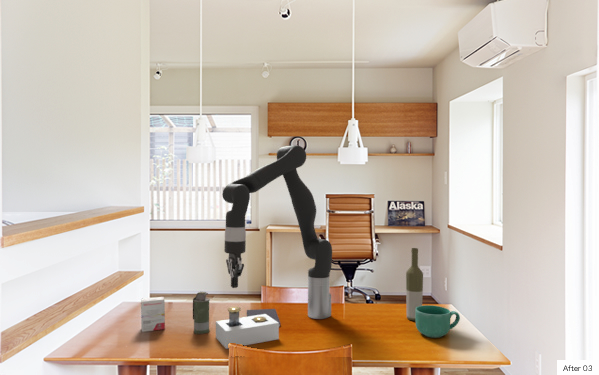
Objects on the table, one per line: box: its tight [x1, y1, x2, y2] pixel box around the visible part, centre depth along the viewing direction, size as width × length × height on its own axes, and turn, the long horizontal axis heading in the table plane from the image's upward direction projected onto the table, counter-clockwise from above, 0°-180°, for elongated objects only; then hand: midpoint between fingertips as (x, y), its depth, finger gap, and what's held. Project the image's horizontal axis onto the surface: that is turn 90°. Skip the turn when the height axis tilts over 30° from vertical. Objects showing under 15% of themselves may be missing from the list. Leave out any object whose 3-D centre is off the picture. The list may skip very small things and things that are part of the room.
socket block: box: [215, 314, 280, 349], centre depth 156 cm, size 20×12×6 cm, turn 118°
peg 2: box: [254, 317, 266, 323], centre depth 159 cm, size 5×5×6 cm
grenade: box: [192, 291, 210, 335], centre depth 163 cm, size 6×6×15 cm
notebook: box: [246, 308, 281, 327], centre depth 179 cm, size 13×2×21 cm
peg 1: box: [227, 306, 242, 327], centre depth 154 cm, size 5×5×6 cm
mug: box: [414, 304, 461, 339], centre depth 162 cm, size 17×13×10 cm
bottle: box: [405, 247, 424, 322], centre depth 180 cm, size 7×7×30 cm
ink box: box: [140, 296, 166, 333], centre depth 166 cm, size 9×5×12 cm, turn 110°
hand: (234, 287), depth 154 cm, fingers closed
